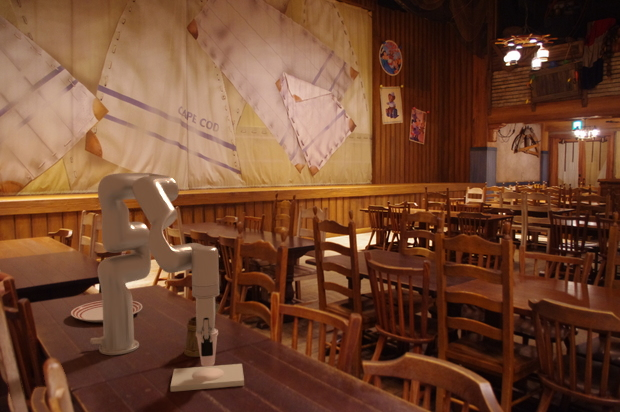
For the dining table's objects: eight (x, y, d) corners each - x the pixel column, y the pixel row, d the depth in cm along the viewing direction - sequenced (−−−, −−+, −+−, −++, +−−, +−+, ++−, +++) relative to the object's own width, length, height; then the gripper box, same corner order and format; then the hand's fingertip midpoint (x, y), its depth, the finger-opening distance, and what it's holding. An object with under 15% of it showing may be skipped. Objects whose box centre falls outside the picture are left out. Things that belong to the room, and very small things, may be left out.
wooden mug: (207, 362, 159) (206, 306, 158) (178, 353, 167) (177, 299, 165) (227, 353, 166) (226, 299, 165) (199, 345, 174) (197, 293, 173)
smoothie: (214, 369, 142) (212, 320, 141) (192, 367, 144) (191, 319, 142) (222, 360, 149) (221, 313, 147) (202, 358, 150) (200, 312, 149)
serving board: (170, 391, 139) (170, 386, 139) (174, 373, 151) (174, 368, 150) (244, 385, 142) (243, 379, 142) (242, 368, 154) (241, 363, 154)
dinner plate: (156, 312, 214) (156, 304, 214) (99, 330, 191) (99, 322, 191) (114, 303, 228) (114, 296, 228) (56, 319, 205) (56, 311, 205)
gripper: (193, 283, 152) (195, 341, 154) (190, 298, 135) (192, 363, 137) (219, 282, 153) (220, 340, 155) (219, 296, 136) (220, 361, 138)
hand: (207, 350), depth 146 cm, fingers closed on smoothie, 6 cm apart
